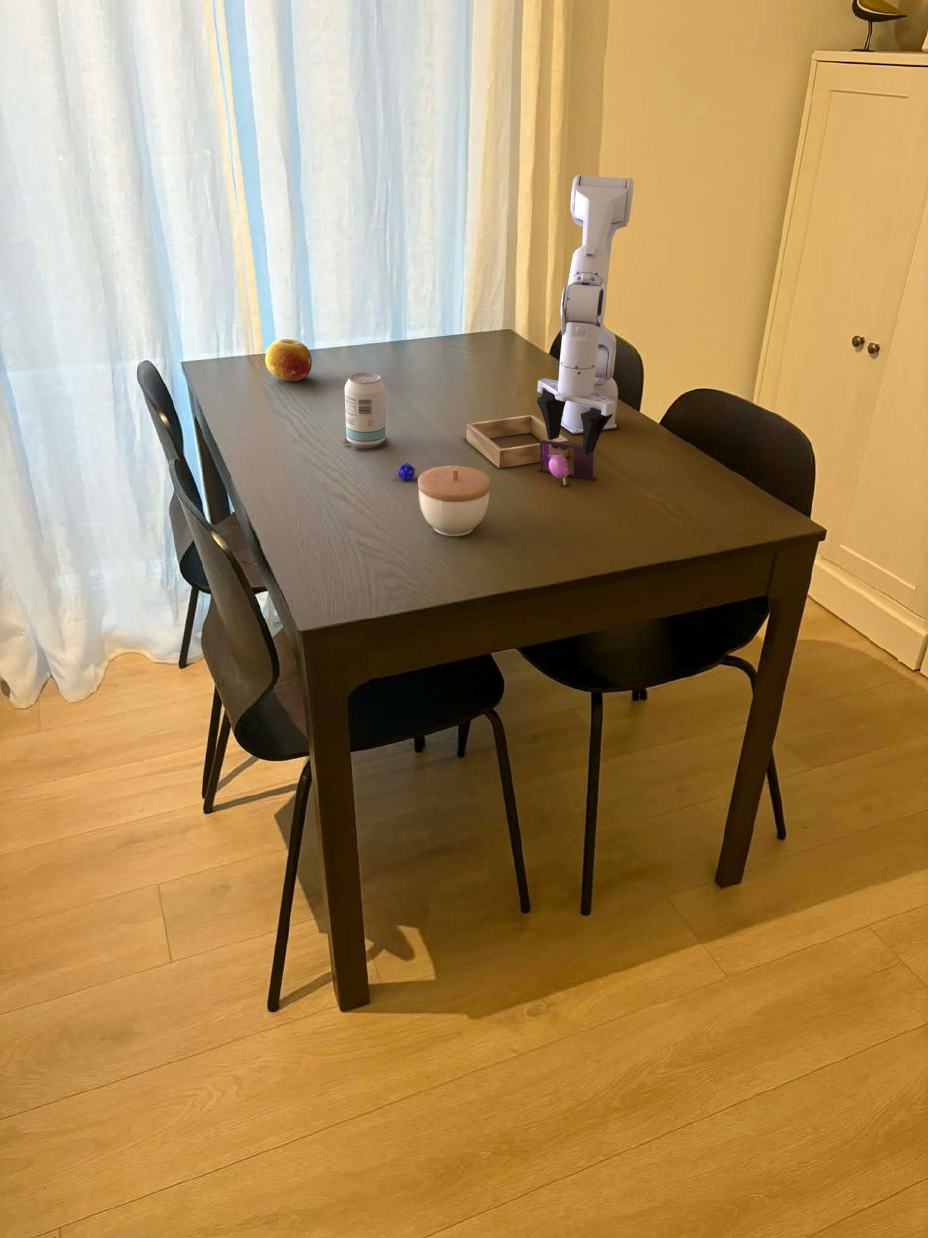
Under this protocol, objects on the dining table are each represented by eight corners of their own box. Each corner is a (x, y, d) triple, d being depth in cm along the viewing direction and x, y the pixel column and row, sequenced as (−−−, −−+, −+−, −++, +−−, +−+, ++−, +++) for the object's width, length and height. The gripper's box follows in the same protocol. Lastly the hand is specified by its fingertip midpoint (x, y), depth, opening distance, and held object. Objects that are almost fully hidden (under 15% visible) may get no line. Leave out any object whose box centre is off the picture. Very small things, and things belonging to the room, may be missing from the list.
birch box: (531, 430, 182) (532, 414, 181) (567, 457, 172) (568, 440, 170) (466, 440, 177) (466, 423, 176) (499, 468, 167) (500, 450, 166)
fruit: (322, 378, 204) (320, 340, 200) (293, 389, 198) (290, 350, 193) (287, 369, 208) (284, 331, 204) (257, 380, 202) (254, 341, 198)
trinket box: (497, 518, 151) (500, 461, 146) (475, 548, 142) (477, 489, 137) (432, 506, 154) (433, 450, 149) (407, 536, 145) (406, 477, 140)
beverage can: (392, 439, 177) (391, 374, 170) (373, 453, 171) (372, 386, 165) (359, 433, 179) (357, 368, 173) (339, 445, 174) (336, 379, 167)
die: (394, 480, 162) (396, 462, 163) (408, 483, 164) (410, 465, 164) (402, 477, 160) (404, 459, 160) (416, 481, 161) (418, 463, 162)
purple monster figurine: (595, 444, 160) (541, 436, 162) (587, 465, 157) (533, 456, 159) (594, 474, 165) (542, 466, 167) (586, 495, 162) (534, 487, 164)
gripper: (526, 357, 156) (521, 438, 163) (597, 380, 147) (589, 464, 154) (556, 348, 160) (550, 428, 167) (626, 371, 151) (617, 453, 158)
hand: (570, 445), depth 161 cm, fingers open, 7 cm apart
